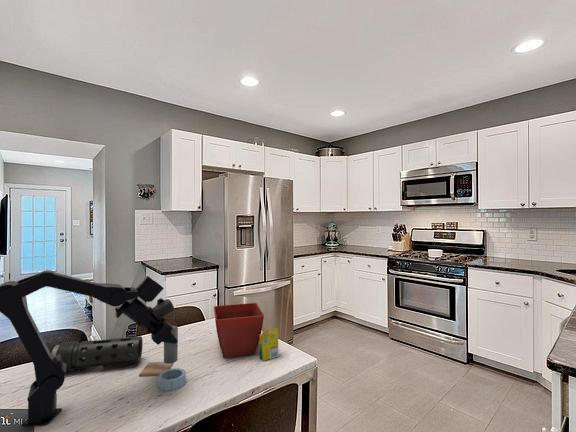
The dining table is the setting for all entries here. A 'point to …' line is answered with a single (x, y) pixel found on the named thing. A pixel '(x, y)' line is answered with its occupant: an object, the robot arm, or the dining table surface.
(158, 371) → the mat
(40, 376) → the robot arm
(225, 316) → the plant pot
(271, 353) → the crayon box
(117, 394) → the dining table surface
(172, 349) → the plug
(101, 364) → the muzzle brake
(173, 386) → the collar
